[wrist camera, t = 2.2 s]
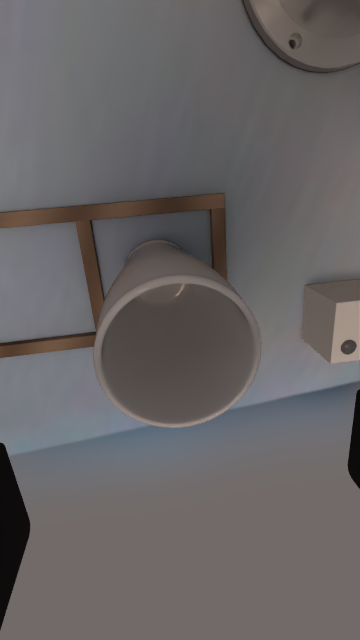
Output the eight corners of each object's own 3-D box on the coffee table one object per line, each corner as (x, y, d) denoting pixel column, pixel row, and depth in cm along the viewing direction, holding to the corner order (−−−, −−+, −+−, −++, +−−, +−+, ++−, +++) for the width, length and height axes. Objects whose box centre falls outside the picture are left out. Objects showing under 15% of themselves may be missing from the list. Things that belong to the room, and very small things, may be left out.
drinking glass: (123, 218, 25) (109, 253, 11) (209, 240, 26) (290, 296, 13) (107, 302, 27) (77, 419, 13) (186, 319, 29) (234, 440, 15)
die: (359, 279, 29) (402, 296, 25) (352, 331, 31) (391, 356, 26) (304, 285, 29) (337, 303, 24) (301, 337, 31) (331, 364, 26)
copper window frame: (222, 193, 25) (224, 193, 25) (226, 327, 29) (228, 330, 29) (-227, 232, 23) (-236, 233, 22) (-154, 373, 27) (-161, 377, 26)
